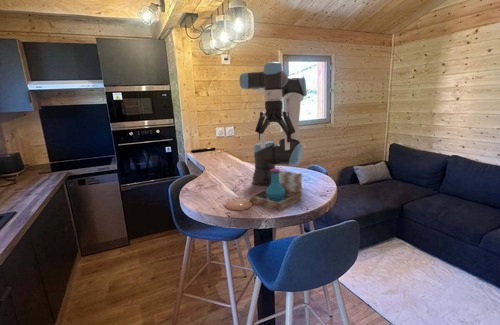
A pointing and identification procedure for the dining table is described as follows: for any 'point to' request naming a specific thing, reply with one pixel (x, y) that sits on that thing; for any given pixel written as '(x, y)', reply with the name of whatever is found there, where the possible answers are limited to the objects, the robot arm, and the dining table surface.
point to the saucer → (238, 204)
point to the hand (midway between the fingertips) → (274, 148)
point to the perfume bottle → (275, 187)
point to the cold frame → (292, 190)
